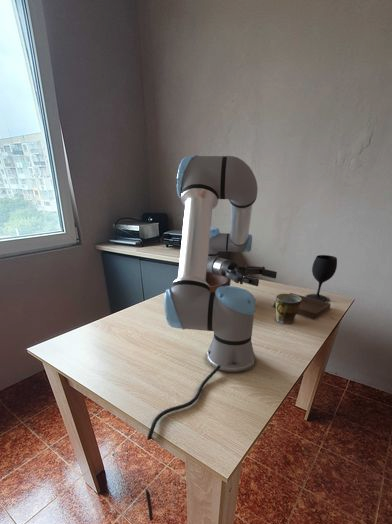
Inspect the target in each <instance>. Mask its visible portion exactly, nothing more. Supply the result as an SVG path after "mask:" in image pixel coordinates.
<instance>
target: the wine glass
mask: <svg viewBox="0 0 392 524" xmlns="http://www.w3.org/2000/svg"><path fill="white" fill-rule="evenodd" d="M337 266H338V258H337V257H336V256H334V255H329V254H328V255H327V254H320V255H316V257H315V258H314V261H313V263H312V267H311V273H312V276H313V278H314V279H315V280H316V281H317V282H318V288H317V292H316V293H311V294H307V295H306V296H305V297H308V298H312V299H315V300H319V301H323V302H327V303H328V301H329V298H328V297H327V296H326V295H322V294H321V293H320V292H321V288H322V285H323V283H325V282H327V281H329V280H330V279H332V278H333V277H334V275H335V274H336V271H337V268H338V267H337Z"/></svg>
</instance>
